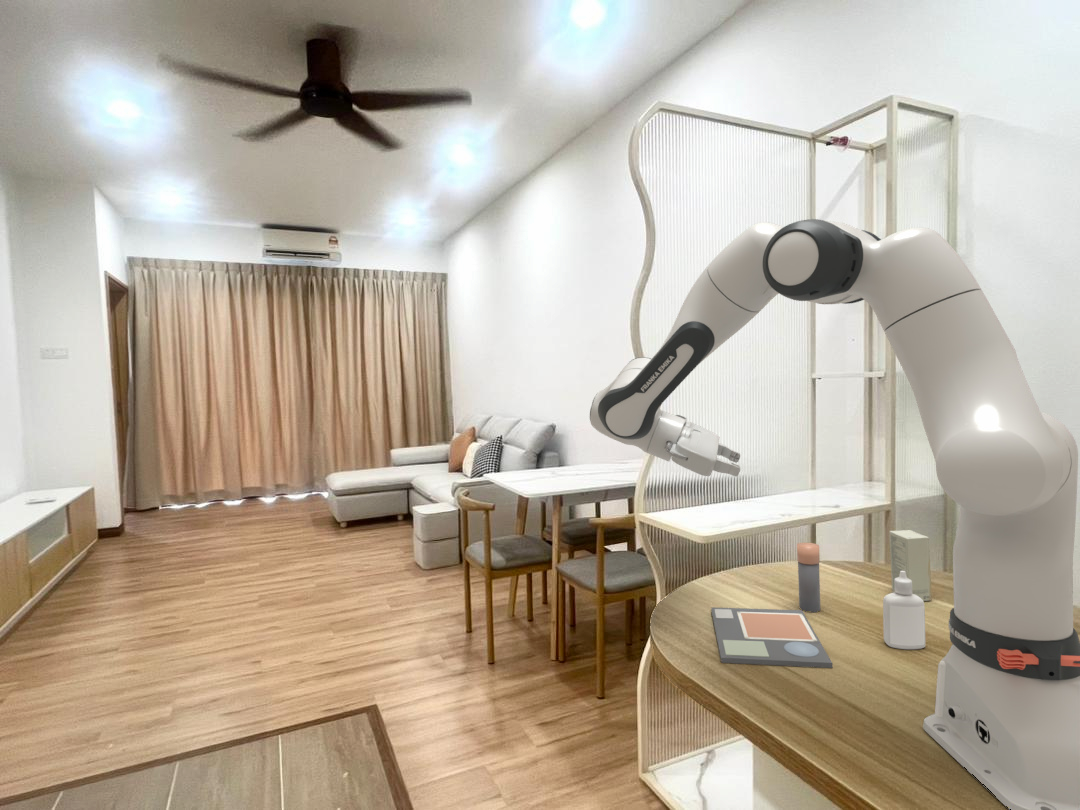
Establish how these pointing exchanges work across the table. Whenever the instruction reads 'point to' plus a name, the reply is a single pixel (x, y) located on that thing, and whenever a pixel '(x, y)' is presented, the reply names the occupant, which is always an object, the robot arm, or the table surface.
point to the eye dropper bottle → (904, 616)
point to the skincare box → (911, 560)
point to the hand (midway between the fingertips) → (739, 464)
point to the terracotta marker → (808, 576)
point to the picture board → (767, 638)
